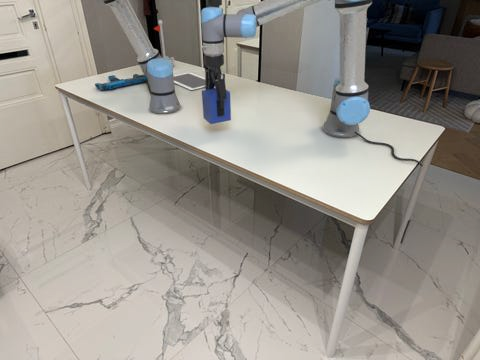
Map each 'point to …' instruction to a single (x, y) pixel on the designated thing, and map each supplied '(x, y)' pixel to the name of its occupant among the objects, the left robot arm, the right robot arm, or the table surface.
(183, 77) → the tablet
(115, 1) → the left robot arm
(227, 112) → the block
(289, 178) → the table surface
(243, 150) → the table surface
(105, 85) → the submachine gun
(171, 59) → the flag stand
